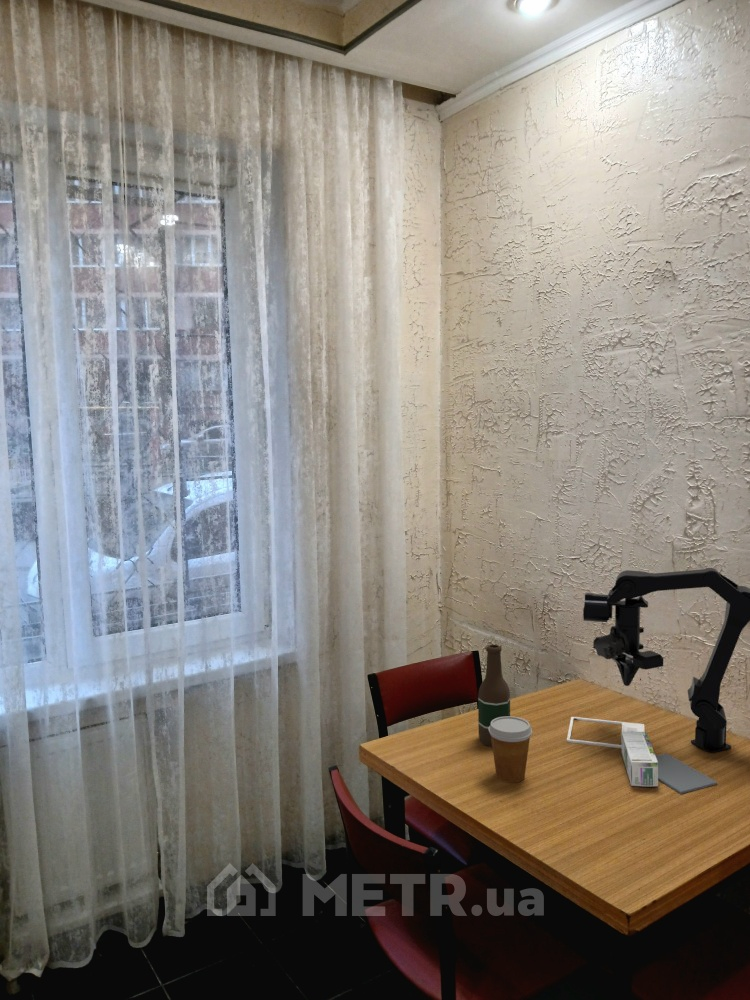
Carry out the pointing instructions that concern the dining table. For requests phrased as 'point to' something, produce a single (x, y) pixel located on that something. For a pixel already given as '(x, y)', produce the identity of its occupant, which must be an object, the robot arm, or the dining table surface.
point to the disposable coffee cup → (510, 747)
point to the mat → (681, 775)
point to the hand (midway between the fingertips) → (626, 685)
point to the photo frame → (625, 726)
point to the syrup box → (639, 759)
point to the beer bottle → (492, 694)
